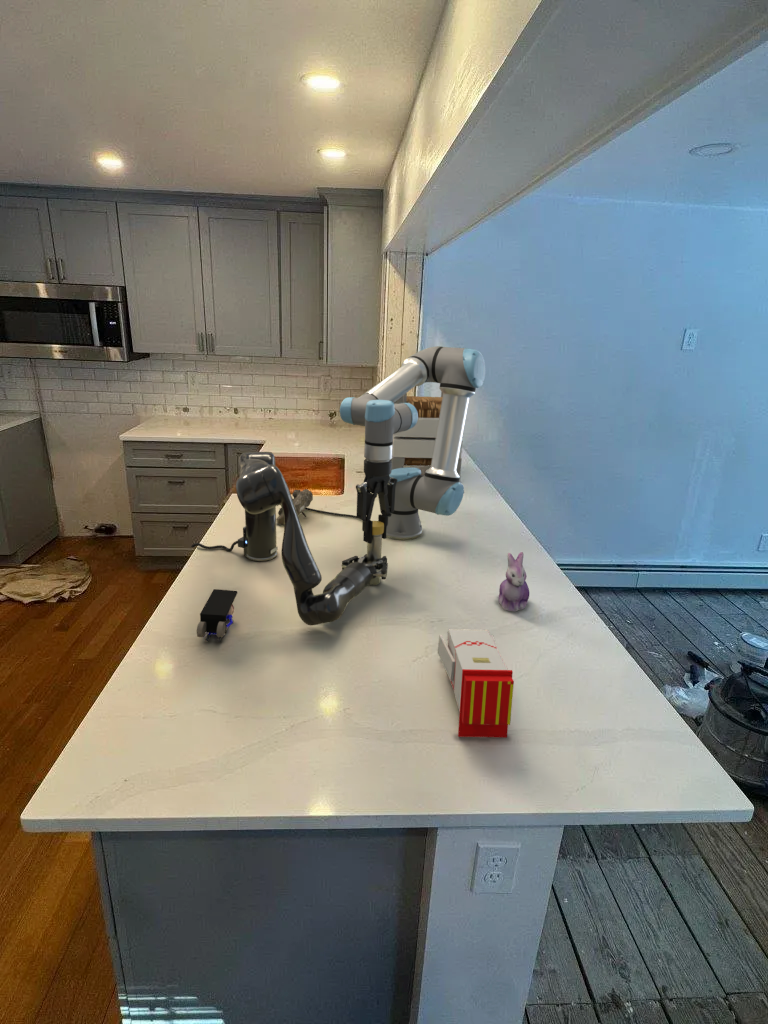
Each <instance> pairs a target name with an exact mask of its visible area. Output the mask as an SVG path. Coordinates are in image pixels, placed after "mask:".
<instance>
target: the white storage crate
mask: <svg viewBox="0 0 768 1024" xmlns="http://www.w3.org/2000/svg"><path fill="white" fill-rule="evenodd" d="M440 393H441V394H440V396H415V395H414V396H413V395H412V396H411V395H407V394H408V392H407V393H406V394H404V395H403V396H402V397H401V398H399V399H398V400H397V401H396V402H394V404H399V403H410V404H412V405H413V406H414V407H415V408H416V410H417V412H418V421H417V423H416V425H415V426H414V427H413V428H410V429H409V430H407V431H402V432H398V433H395V434H393V449H392V459H391V461H392V469H391V470H393V469H398V468H405V466H406V467H408V466H411V467H415V466H416V467H417V466H418V467H431V462H432V456H433V450H434V444H435V439H436V433H437V427H438V421H439V415H440V409H441V404H442V398H443V393H442V392H441V391H440ZM464 431H465V430H463V433H464ZM463 438H464V435H463V436H462V439H463ZM463 442H464V441H463V440H462V441H461V447H460V453H459V458H458V464H457V469H456V471H457V473H458V475H459V476H460V477H461V472H462V461H463V460H462V453H463ZM459 482H460V483H461V478H460V479H459Z"/></svg>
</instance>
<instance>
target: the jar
mask: <svg viewBox="0 0 768 1024" xmlns="http://www.w3.org/2000/svg"><path fill="white" fill-rule="evenodd" d="M366 543H367V542H366ZM382 546H383V538H382V534H380V535H372V543H370V544H369V543H367V544H366V554H367V564H370V563H372V562H374V561H375V562H377V561H379V560H380V559H381V558H382V549H383V547H382ZM380 571H381V570H380ZM378 572H379V571H378ZM380 583H381V577H378V576H376V578H374V579H372V580H371V581H370V583H369V584H368V586H378V585H380Z"/></svg>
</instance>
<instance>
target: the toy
mask: <svg viewBox="0 0 768 1024" xmlns="http://www.w3.org/2000/svg"><path fill="white" fill-rule="evenodd" d="M446 640H447V643H446V641H445V639H444V636H443V635H442V634H439V637H438V646H437V656H438V657H439V659H440V661H441V663H442V666H443V668H444V670H445V672H446V674H447V677H448V679H449V681H450V684H451V687H452V690H453V693H454V697H455V701H456V705H457V708H458V711H459V714H458V715H459V716H458V730H457V731H458V732H457V737H458V738H508V731H509V726H510V725H511V717H512V707H513V697H514V696H513V695H514V684H515V680H514V679H513V673H514V671H513V670H512V669H508V667H507V665H506V662H505V661H504V659H503V658H502V655H501V653H500V651H499V649H498V647H497V643H496V639H495V637H494V635H493V634H491V632H490V631H489V629H467V628H466V629H465V628H463V629H461V628H460V629H459V628H448V630H447V639H446Z"/></svg>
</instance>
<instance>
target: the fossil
mask: <svg viewBox="0 0 768 1024" xmlns="http://www.w3.org/2000/svg"><path fill="white" fill-rule="evenodd" d="M291 496H292V499H293V502H294V505H295V508H296V510H297V513H298V516H300V515H301V514H302V515H303V516H304V517H305V518H307V515H306V513H304V511H306V510H305V508H309V506H310V505H311V503H312V501H313V500H314V495H313V492H312V491H311V490H309V489H306V488H305V489H303V490H301V489H294V490H293V492H292V494H291ZM277 514H278V517H276V524H277V525H281V526H284V514H283V510H282V507H281V506H280V508H279V510H278V511H277Z"/></svg>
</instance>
